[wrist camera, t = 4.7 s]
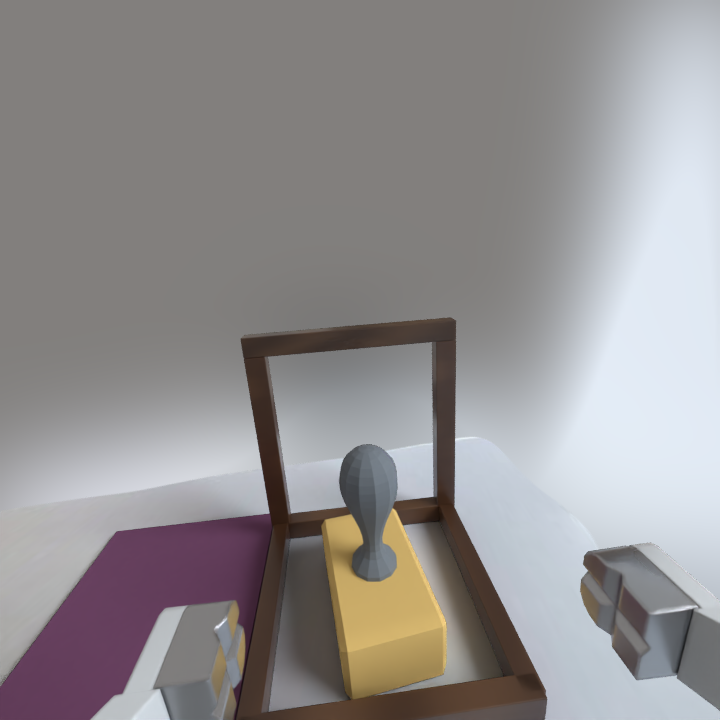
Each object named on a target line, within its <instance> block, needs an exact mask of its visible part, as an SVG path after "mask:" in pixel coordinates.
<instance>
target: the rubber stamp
mask: <svg viewBox="0 0 720 720" xmlns="http://www.w3.org/2000/svg"><path fill="white" fill-rule="evenodd" d="M339 484H340V491H341V495H342V497H343V500H344V502H345V504H346V506H347V508H348V510H349V511H350V513H351V514H350V515H345V516H340V517H336V518H331V519H326V520H324V522H323V524H322V525H321V527H322V536H323V544H324V552H325V560H326V567H327V574H328V580H329V587H330V594H331V600H332V607H333V614H334V621H335V627H336V634H337V641H338V647H339V654H340V661H341V668H342V674H343V681H344V688H345V693H346V694H347V695H348V696H349V697H350V698H351V699H358V698H364V697H369V696H372V695H375V694H379V693H382V692H386V691H389V690H392V689H396V688H399V687H402V686H406V685H409V684H413V683H416V682H419V681H423V680H426V679H430V678H433V677H436V676H440V675H443V674H444V670H445V666H446V630H447V627H446V621H445V618H444V616H443V614H442V612H441V609H440V607H439V605H438V603H437V601H436V598H435V596H434V594H433V592H432V590H431V587H430V585H429V583H428V581H427V578H426V576H425V574H424V572H423V570H422V567H421V565H420V563H419V561H418V558H417V556H416V554H415V552H414V550H413V547H412V545H411V543H410V541H409V539H408V536H407V534H406V532H405V530H404V527H403V525H402V523H401V521H400V519H399V516H398V514H397V512H396V511H395V510H394V509H393V505H394V502H395V499H396V495H397V471H396V466H395V463H394V461H393V459H392V458H391V457H390V456H389V454H388V453H387V452H385V451H384V450H383V449H382V448H380V447H378V446H375V445H372V444H366V445H361V446H357V447H356V448H354V449H353V450H352V451H350V452H349V453H348V454H347V455H346V457H345V458H344V460H343V462H342V466H341V471H340V479H339Z"/></svg>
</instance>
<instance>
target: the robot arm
mask: <svg viewBox="0 0 720 720" xmlns="http://www.w3.org/2000/svg"><path fill="white" fill-rule="evenodd" d="M583 565H584V566H585V567H586V569H587V570H588V572H587V573H586V574H585V575H584V577H583V578H582V579H581V588H580V592H581V595H582V599H583V603H584V605H585V607H586V609H587V611H588V613H589V615H590V616H591V618H592V619H593V621H594V622H595V624H596V625H597V626H598V627H599V628H601V629H603V630H604V631H606V632H607V633H609V634H610V635H611V639H612V647H613V649H614V650H615V651H616V653H617V654H618V655H619V657H620V658H621V660H622V661H623V662H624V664H625V665H626V666H627V668H628V669H629V671H630V672H631V673H632V675H633V676H634V677H635V679H636V680H643V679H651V678H659V677H667V676H675V675H677V679H679V680H680V681H681V682H683V683H684V684H685V685H687V686H688V687H689V688H691V689H692V690H693V691H695V692H696V693H697V694H699V695H700V696H701V697H703V698H704V699H705V700H707V701H708V702H709V703H711V704H712V705H713V706H715V707H716V708H717V709H719V710H720V601H719V600H718V599H717V598H716V597H715V596H714V595H713V594H712V593H711V592H709V591H708V590H707V589H706V588H705V587H704V586H703V585H701V584H700V583H699V582H698V581H697V580H696V579H695V578H694V577H692V576H691V575H690V574H689V573H688V572H687V571H686V570H684V569H683V568H682V567H681V566H680V565H679V564H678V563H677V562H675V561H674V560H673V559H672V558H671V557H670V556H669V555H668V554H666V553H665V552H664V551H663V550H662V549H661V548H660V547H658V546H657V545H655V544H652V543H644V544H637V545H630V546H621V547H614V548H607V549H600V550H594V551H588V552H587V553H586V554H585V556H584V562H583ZM239 612H240V611H239V608H238V604H237V601H236V600H230V601H221V602H212V603H202V604H193V605H186V606H178V607H169V608H165V609H164V610H163V611H162V612H161V613H160V615H159V616H158V618H157V620H156V622H155V624H154V627H153V629H152V631H151V633H150V635H149V637H148V639H147V642H146V644H145V646H144V648H143V650H142V652H141V654H140V657H139V659H138V661H137V663H136V665H135V667H134V669H133V672H132V674H131V676H130V678H129V680H128V682H127V684H126V687H125V689H124V691H123V693H122V694H119V695H114V696H113V697H112V698H111V699H110V700H109V701H108V702H107V703H106V704H105V705H104V706H103V707H102V708H101V709H100V710H99V711H98V712H97V713H96V714H95V715H94V716H93V717H92V718H91V719H90V720H233V719H234V714H235V709H236V700H235V696H234V692H233V690H234V688H235V687H236V686H237V684H238V683H239V682H240V680H241V679H242V674H243V668H244V662H245V648H246V645H245V634H244V629H243V626H241V625H240V624H239V623H237V621H238V616H239Z"/></svg>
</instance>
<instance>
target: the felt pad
mask: <svg viewBox="0 0 720 720" xmlns="http://www.w3.org/2000/svg"><path fill="white" fill-rule="evenodd" d="M272 531H273V529H272V524H271V518H270V514H263V515H254V516H245V517H237V518H228V519H220V520H211V521H202V522H194V523H185V524H177V525H168V526H159V527H151V528H142V529H133V530H125V531H117V532H116V533H115V535H114V536H113V537H112V539H111V540H110V541H109V543H108V544H107V545H106V547H105V548H104V549H103V551H102V552H101V553H100V555H99V556H98V557H97V559H96V560H95V561H94V563H93V564H92V565H91V567H90V568H89V569H88V571H87V572H86V573H85V575H84V576H83V577H82V579H81V580H80V581H79V583H78V584H77V585H76V587H75V588H74V589H73V591H72V592H71V593H70V595H69V596H68V597H67V599H66V600H65V601H64V603H63V604H62V605H61V607H60V608H59V609H58V611H57V612H56V613H55V615H54V616H53V617H52V619H51V620H50V621H49V623H48V624H47V626H46V627H45V628H44V630H43V631H42V632H41V634H40V635H39V636H38V638H37V639H36V640H35V642H34V643H33V644H32V646H31V647H30V648H29V650H28V651H27V652H26V654H25V655H24V656H23V658H22V659H21V660H20V662H19V663H18V664H17V666H16V667H15V668H14V670H13V671H12V672H11V674H10V675H9V676H8V678H7V679H6V680H5V682H4V683H3V684H2V686H1V687H0V720H90V719H91V718H92V717H93V716H94V715H95V714H96V713H97V712H98V711H99V710H100V709H101V708H102V707H103V706H104V705H105V704H106V703H107V702H108V701H109V700H110V699H111V698H112V697H113V696H114V695H119V694H122V693H123V691H124V689H125V687H126V684H127V682H128V680H129V678H130V676H131V674H132V672H133V669H134V667H135V665H136V663H137V661H138V659H139V657H140V654H141V652H142V650H143V648H144V646H145V644H146V642H147V639H148V637H149V635H150V633H151V631H152V629H153V627H154V624H155V622H156V620H157V618H158V616H159V615H160V613H161V612H162V611H163V610H164V609H165V608H169V607H178V606H186V605H193V604H202V603H212V602H221V601H230V600H236V601H237V604H238V608H239V611H240V612H239V616H238V621H237V623H239V624H240V625H241V626H243V629H244V634H245V645H246V648H245V662H244V668H243V674H242V679H241V680H240V682H239V683H238V684H237V686H236V687H235V688H234V690H233V692H234V696H235V700H236V709H235V714H234V719H233V720H236V717H237V712H238V707H239V702H240V697H241V692H242V686H243V681H244V676H245V671H246V666H247V660H248V655H249V650H250V645H251V640H252V635H253V629H254V624H255V619H256V614H257V609H258V603H259V598H260V593H261V588H262V583H263V577H264V572H265V567H266V562H267V557H268V552H269V546H270V541H271V536H272Z"/></svg>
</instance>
